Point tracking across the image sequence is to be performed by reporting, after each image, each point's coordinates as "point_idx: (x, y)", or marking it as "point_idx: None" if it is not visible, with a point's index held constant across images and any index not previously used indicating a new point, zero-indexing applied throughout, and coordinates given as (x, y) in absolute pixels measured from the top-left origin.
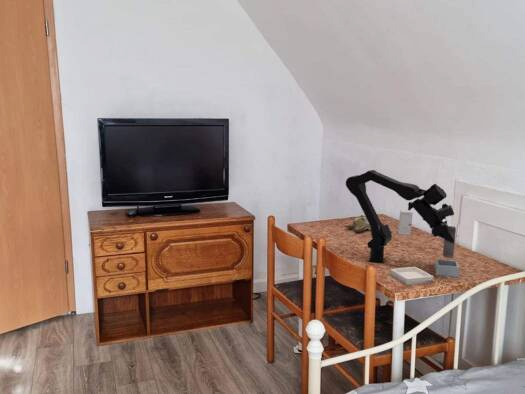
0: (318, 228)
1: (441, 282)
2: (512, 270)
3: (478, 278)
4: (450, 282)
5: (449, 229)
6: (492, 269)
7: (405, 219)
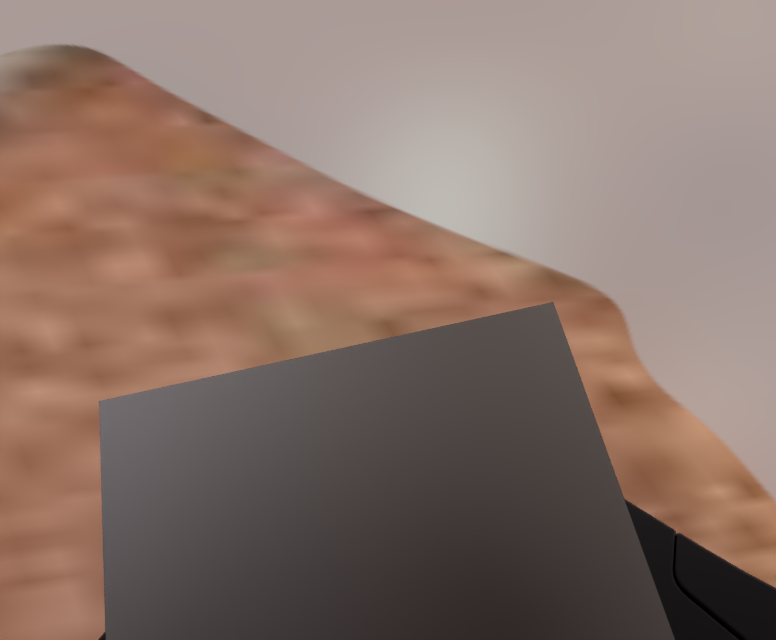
0: None
1: (737, 546)
2: (88, 82)
3: (412, 265)
4: (674, 465)
5: (632, 616)
6: (117, 195)
7: None
